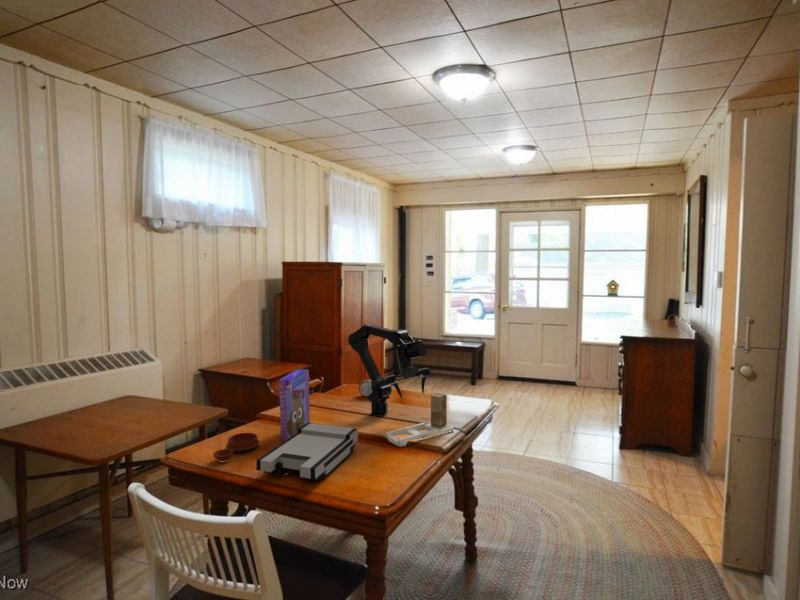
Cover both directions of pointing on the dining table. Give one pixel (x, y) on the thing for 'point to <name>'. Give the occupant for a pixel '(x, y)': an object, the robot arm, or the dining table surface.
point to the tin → (365, 388)
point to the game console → (310, 451)
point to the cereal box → (294, 402)
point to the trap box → (416, 433)
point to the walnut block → (438, 410)
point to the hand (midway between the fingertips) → (412, 395)
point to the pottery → (237, 445)
